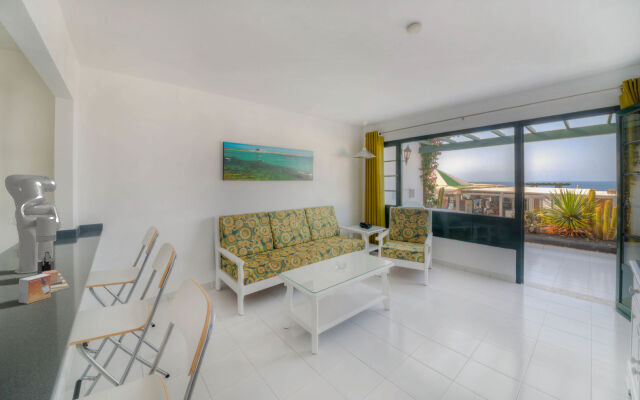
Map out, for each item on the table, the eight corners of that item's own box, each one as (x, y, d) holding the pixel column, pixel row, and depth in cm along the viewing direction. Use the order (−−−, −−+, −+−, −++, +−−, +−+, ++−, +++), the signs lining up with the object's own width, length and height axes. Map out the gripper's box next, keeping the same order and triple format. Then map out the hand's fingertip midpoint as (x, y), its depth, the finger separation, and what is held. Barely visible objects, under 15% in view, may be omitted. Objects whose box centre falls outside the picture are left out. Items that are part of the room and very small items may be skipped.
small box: (27, 304, 105) (27, 280, 105) (18, 302, 106) (18, 279, 106) (51, 296, 113) (51, 274, 113) (42, 295, 114) (42, 273, 114)
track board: (29, 278, 134) (29, 276, 134) (59, 273, 142) (59, 271, 142) (35, 295, 114) (35, 293, 114) (69, 288, 123) (69, 286, 123)
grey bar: (34, 276, 133) (34, 262, 133) (56, 272, 139) (56, 259, 139) (38, 287, 120) (38, 271, 120) (62, 282, 126) (62, 268, 126)
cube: (41, 281, 125) (42, 271, 125) (56, 278, 129) (56, 269, 129) (43, 284, 122) (43, 274, 122) (57, 281, 126) (57, 271, 126)
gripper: (34, 237, 137) (34, 269, 137) (37, 241, 127) (37, 276, 127) (54, 235, 143) (53, 266, 143) (58, 239, 133) (57, 273, 133)
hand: (45, 270), depth 135 cm, fingers closed on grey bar, 2 cm apart
